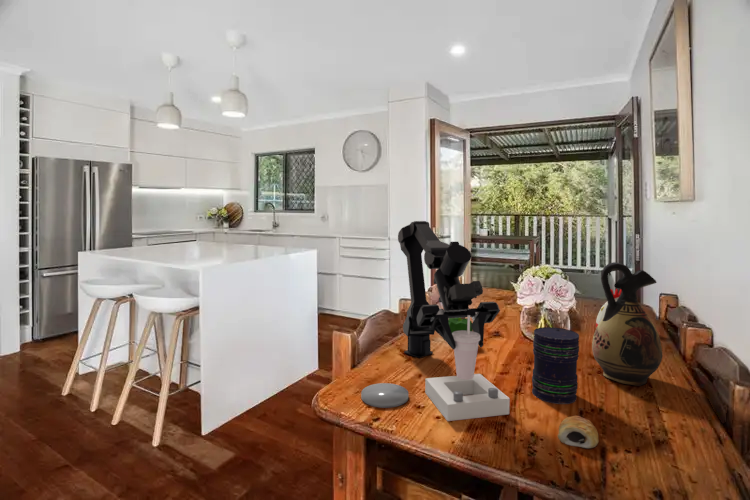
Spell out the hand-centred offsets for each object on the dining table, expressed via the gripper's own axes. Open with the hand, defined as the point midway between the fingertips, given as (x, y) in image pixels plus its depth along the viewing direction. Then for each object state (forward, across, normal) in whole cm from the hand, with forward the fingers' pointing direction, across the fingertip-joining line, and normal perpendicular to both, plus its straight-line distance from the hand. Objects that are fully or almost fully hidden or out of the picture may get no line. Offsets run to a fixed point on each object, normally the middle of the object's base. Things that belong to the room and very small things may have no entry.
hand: (468, 347), depth 91 cm
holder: (+9, 0, +10) cm, 13 cm away
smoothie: (+4, 0, +6) cm, 7 cm away
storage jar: (+9, +22, +10) cm, 26 cm away
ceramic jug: (+5, +46, +14) cm, 48 cm away
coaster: (+4, -17, +15) cm, 23 cm away
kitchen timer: (-22, +80, +42) cm, 94 cm away
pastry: (+22, +15, -2) cm, 26 cm away
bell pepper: (-20, +17, +40) cm, 48 cm away
